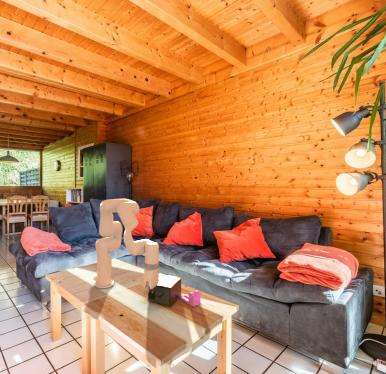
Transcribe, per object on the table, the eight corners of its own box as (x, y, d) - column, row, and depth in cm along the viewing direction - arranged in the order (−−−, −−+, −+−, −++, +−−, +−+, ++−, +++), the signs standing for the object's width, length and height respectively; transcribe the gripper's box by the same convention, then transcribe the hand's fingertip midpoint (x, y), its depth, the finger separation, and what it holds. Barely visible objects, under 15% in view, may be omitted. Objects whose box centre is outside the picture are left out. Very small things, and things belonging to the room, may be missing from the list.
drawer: (165, 308, 138) (165, 292, 138) (144, 303, 144) (144, 287, 144) (178, 294, 154) (178, 280, 154) (159, 290, 161) (159, 276, 160)
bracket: (200, 303, 145) (200, 291, 145) (193, 306, 142) (193, 294, 142) (185, 295, 156) (185, 284, 156) (178, 297, 153) (178, 286, 152)
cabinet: (170, 306, 142) (170, 287, 142) (147, 300, 149) (147, 282, 149) (181, 295, 156) (181, 278, 156) (159, 290, 163) (159, 273, 163)
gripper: (152, 260, 146) (152, 292, 146) (138, 268, 132) (138, 303, 133) (164, 262, 142) (164, 295, 143) (151, 271, 129) (151, 307, 129)
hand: (151, 299), depth 138 cm, fingers closed
